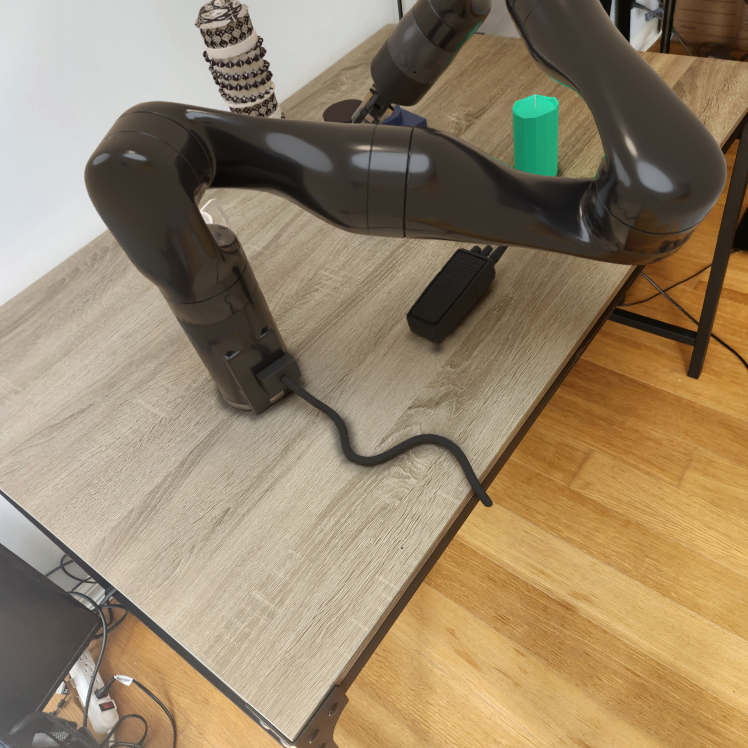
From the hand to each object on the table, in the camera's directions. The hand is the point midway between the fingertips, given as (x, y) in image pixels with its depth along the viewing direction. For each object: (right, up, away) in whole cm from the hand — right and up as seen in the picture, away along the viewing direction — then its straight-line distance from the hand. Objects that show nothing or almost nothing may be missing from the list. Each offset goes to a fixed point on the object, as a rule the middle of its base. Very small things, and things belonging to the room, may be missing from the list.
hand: (349, 140), depth 89 cm
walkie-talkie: (+15, -22, -8) cm, 28 cm away
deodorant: (+2, -7, +8) cm, 11 cm away
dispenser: (+5, +8, +20) cm, 22 cm away
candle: (+27, -3, +5) cm, 27 cm away
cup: (-19, -19, +4) cm, 27 cm away
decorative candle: (-14, +4, +22) cm, 26 cm away
